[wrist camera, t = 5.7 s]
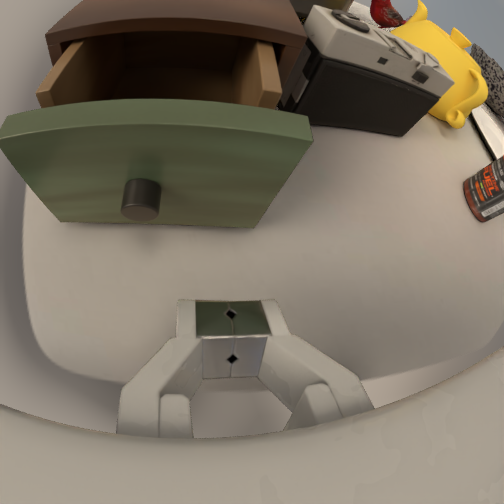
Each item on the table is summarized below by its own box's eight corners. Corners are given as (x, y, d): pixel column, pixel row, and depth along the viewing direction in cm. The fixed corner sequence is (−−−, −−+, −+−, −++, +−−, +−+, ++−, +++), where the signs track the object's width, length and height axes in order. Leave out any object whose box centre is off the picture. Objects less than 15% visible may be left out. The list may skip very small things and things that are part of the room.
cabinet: (255, 151, 18) (308, 37, 9) (80, 146, 15) (44, 34, 6) (248, 49, 22) (275, -25, 13) (129, 43, 19) (130, -33, 10)
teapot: (349, 26, 33) (382, -25, 20) (419, 62, 37) (452, 23, 24) (404, 117, 25) (472, 47, 13) (474, 156, 30) (529, 114, 17)
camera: (370, 87, 26) (414, 31, 16) (402, 140, 24) (461, 83, 14) (261, 67, 22) (294, -17, 12) (285, 126, 20) (342, 24, 10)
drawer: (255, 248, 15) (320, 171, 8) (56, 242, 12) (-19, 168, 5) (247, 79, 19) (274, 2, 12) (112, 74, 16) (106, -4, 9)
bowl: (489, 96, 59) (510, 78, 45) (522, 156, 49) (548, 136, 35) (441, 51, 53) (463, 26, 39) (479, 106, 43) (510, 78, 29)
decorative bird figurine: (349, 19, 35) (370, -15, 26) (399, 37, 41) (419, 11, 31) (358, 26, 34) (380, -9, 25) (407, 44, 40) (427, 18, 31)
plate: (448, 88, 37) (453, 83, 35) (496, 128, 43) (500, 125, 41) (499, 189, 30) (506, 185, 28) (531, 213, 36) (537, 210, 34)
